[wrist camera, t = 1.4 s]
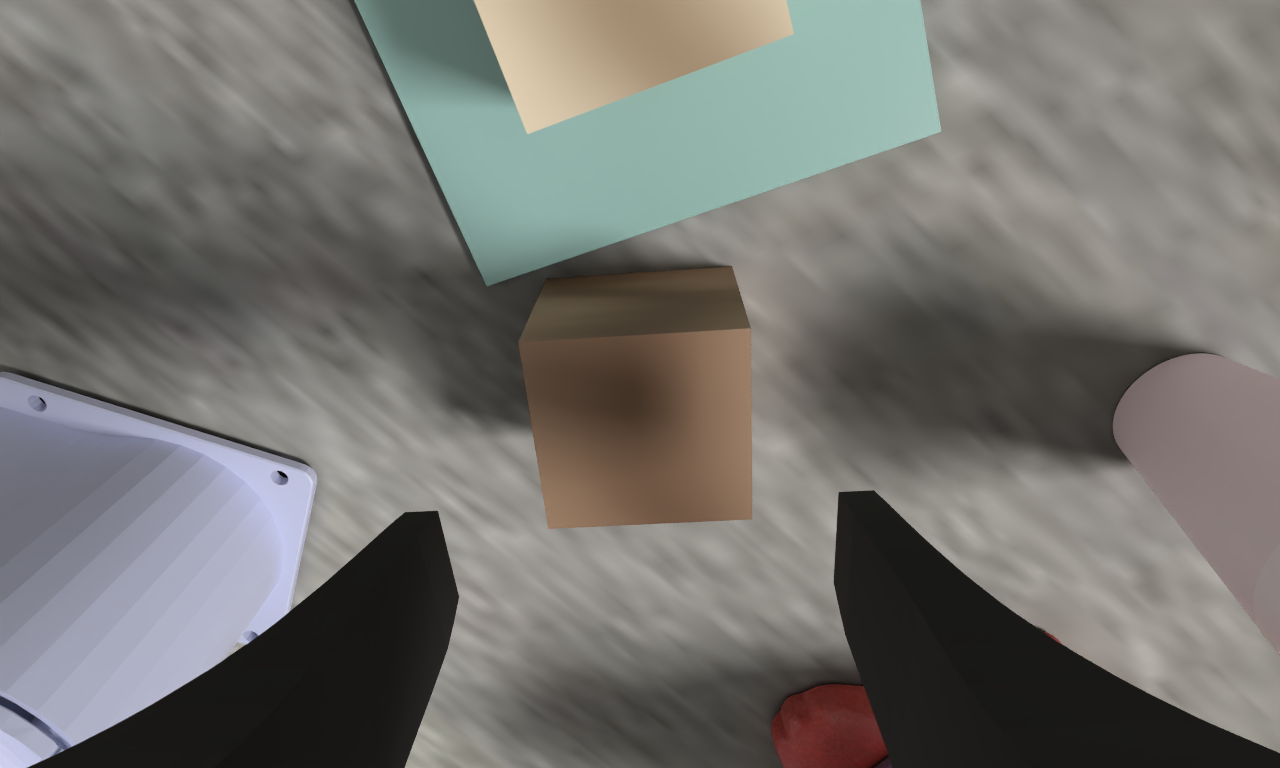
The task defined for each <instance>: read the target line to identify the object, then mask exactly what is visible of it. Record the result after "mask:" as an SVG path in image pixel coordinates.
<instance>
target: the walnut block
mask: <svg viewBox="0 0 1280 768" xmlns="http://www.w3.org/2000/svg"><path fill="white" fill-rule="evenodd" d="M518 346H519V352H520V358H521V364H522V370H523V376H524V382H525V388H526V394H527V400H528V407H529V413H530V419H531V425H532V431H533V437H534V443H535V449H536V455H537V461H538V468H539V474H540V480H541V486H542V492H543V498H544V504H545V510H546V516H547V522H548V529H553V528H575V527H596V526H617V525H639V524H660V523H682V522H703V521H724V520H746V519H752V433H751V328H750V325H749V321H748V318H747V315H746V311H745V308H744V305H743V301H742V298H741V295H740V292H739V288H738V285H737V282H736V278H735V275H734V272H733V268H732V266H729V267H714V268H699V269H684V270H669V271H653V272H638V273H623V274H608V275H593V276H578V277H562V278H547V279H546V281H545V283H544V285H543V287H542V290H541V292H540V294H539V296H538V299H537V301H536V303H535V305H534V308H533V310H532V312H531V314H530V317H529V319H528V321H527V323H526V326H525V328H524V330H523V332H522V335H521V337H520V339H519V341H518Z"/></svg>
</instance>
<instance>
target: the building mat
mask: <svg viewBox="0 0 1280 768" xmlns="http://www.w3.org/2000/svg"><path fill="white" fill-rule="evenodd" d="M354 1H355V3H356V5H357V7H358V10H359V12H360V14H361V16H362V18H363V20H364V23H365V25H366V27H367V29H368V31H369V33H370V36H371V38H372V40H373V42H374V44H375V46H376V48H377V51H378V53H379V55H380V57H381V59H382V61H383V64H384V66H385V68H386V70H387V72H388V74H389V77H390V79H391V81H392V83H393V85H394V87H395V90H396V92H397V94H398V96H399V98H400V100H401V102H402V105H403V107H404V109H405V111H406V113H407V115H408V118H409V120H410V122H411V124H412V126H413V128H414V131H415V133H416V135H417V137H418V139H419V141H420V143H421V146H422V148H423V150H424V152H425V154H426V156H427V159H428V161H429V163H430V165H431V167H432V169H433V172H434V174H435V176H436V178H437V180H438V182H439V184H440V187H441V189H442V191H443V193H444V195H445V197H446V200H447V202H448V204H449V206H450V208H451V210H452V213H453V215H454V217H455V219H456V221H457V223H458V225H459V228H460V230H461V232H462V234H463V236H464V238H465V241H466V243H467V245H468V247H469V249H470V251H471V254H472V256H473V258H474V260H475V262H476V264H477V266H478V269H479V271H480V273H481V275H482V277H483V279H484V282H485V284H486V286H490V285H493V284H496V283H499V282H502V281H505V280H507V279H510V278H513V277H516V276H519V275H522V274H525V273H528V272H531V271H534V270H537V269H540V268H543V267H546V266H549V265H551V264H554V263H557V262H560V261H563V260H566V259H569V258H572V257H575V256H578V255H581V254H584V253H587V252H590V251H593V250H595V249H598V248H601V247H604V246H607V245H610V244H613V243H616V242H619V241H622V240H625V239H628V238H631V237H634V236H637V235H639V234H642V233H645V232H648V231H651V230H654V229H657V228H660V227H663V226H666V225H669V224H672V223H675V222H678V221H680V220H683V219H686V218H689V217H692V216H695V215H698V214H701V213H704V212H707V211H710V210H713V209H716V208H719V207H722V206H724V205H727V204H730V203H733V202H736V201H739V200H742V199H745V198H748V197H751V196H754V195H757V194H760V193H763V192H766V191H768V190H771V189H774V188H777V187H780V186H783V185H786V184H789V183H792V182H795V181H798V180H801V179H804V178H807V177H810V176H812V175H815V174H818V173H821V172H824V171H827V170H830V169H833V168H836V167H839V166H842V165H845V164H848V163H851V162H854V161H856V160H859V159H862V158H865V157H868V156H871V155H874V154H877V153H880V152H883V151H886V150H889V149H892V148H895V147H898V146H900V145H903V144H906V143H909V142H912V141H915V140H918V139H921V138H924V137H927V136H930V135H933V134H936V133H939V132H941V127H940V121H939V115H938V108H937V102H936V96H935V90H934V83H933V77H932V71H931V65H930V58H929V52H928V46H927V40H926V33H925V27H924V21H923V15H922V8H921V2H920V0H786V1H787V6H788V10H789V14H790V19H791V23H792V27H793V31H794V34H793V35H790V36H787V37H785V38H782V39H779V40H777V41H774V42H772V43H769V44H766V45H764V46H761V47H758V48H756V49H753V50H750V51H748V52H745V53H742V54H740V55H737V56H734V57H732V58H729V59H726V60H724V61H721V62H718V63H716V64H713V65H710V66H708V67H705V68H702V69H700V70H697V71H694V72H692V73H689V74H686V75H684V76H681V77H678V78H676V79H673V80H670V81H668V82H665V83H663V84H660V85H657V86H655V87H652V88H649V89H647V90H644V91H641V92H639V93H636V94H633V95H631V96H628V97H625V98H623V99H620V100H617V101H615V102H612V103H609V104H607V105H604V106H601V107H599V108H596V109H593V110H591V111H588V112H585V113H583V114H580V115H577V116H575V117H572V118H569V119H567V120H564V121H561V122H559V123H556V124H553V125H551V126H548V127H546V128H543V129H540V130H538V131H535V132H532V133H530V134H527V132H526V130H525V127H524V125H523V122H522V120H521V117H520V115H519V112H518V110H517V107H516V105H515V102H514V100H513V97H512V95H511V92H510V90H509V87H508V85H507V82H506V80H505V77H504V75H503V72H502V70H501V67H500V65H499V62H498V60H497V57H496V55H495V52H494V50H493V47H492V45H491V42H490V40H489V37H488V35H487V32H486V30H485V27H484V25H483V22H482V20H481V17H480V15H479V12H478V10H477V7H476V5H475V2H474V0H354Z"/></svg>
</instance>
